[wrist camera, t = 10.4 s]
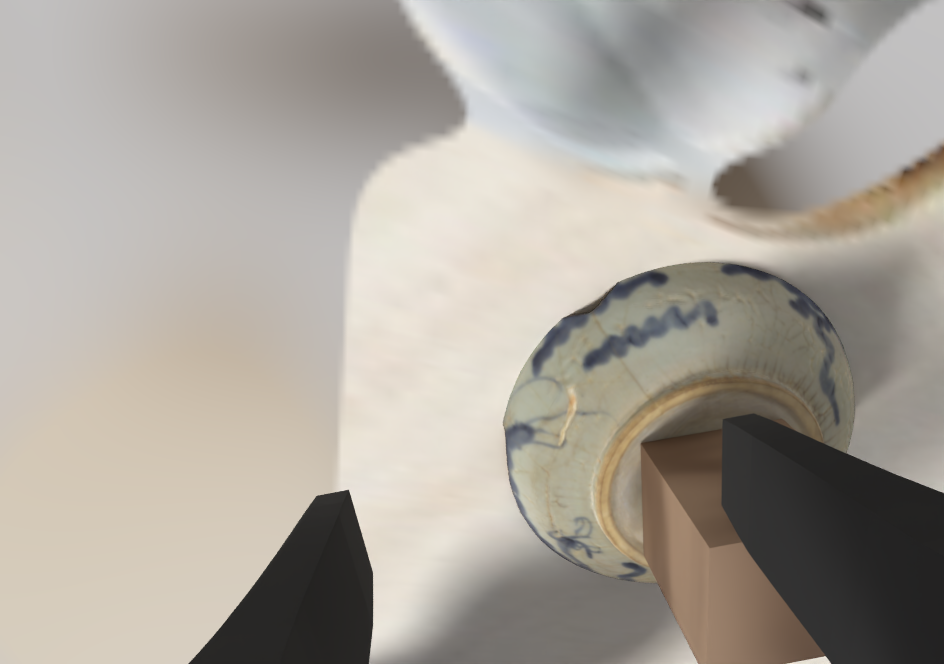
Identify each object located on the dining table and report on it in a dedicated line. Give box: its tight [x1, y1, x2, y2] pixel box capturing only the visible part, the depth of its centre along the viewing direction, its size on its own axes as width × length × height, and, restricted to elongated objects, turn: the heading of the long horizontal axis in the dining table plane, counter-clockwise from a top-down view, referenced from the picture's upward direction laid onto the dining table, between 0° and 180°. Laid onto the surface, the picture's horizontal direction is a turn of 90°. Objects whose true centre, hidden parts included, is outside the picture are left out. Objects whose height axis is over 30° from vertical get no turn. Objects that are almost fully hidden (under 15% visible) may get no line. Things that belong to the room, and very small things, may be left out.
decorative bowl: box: [503, 262, 855, 583], centre depth 23 cm, size 15×4×15 cm
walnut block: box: [640, 419, 825, 664], centre depth 19 cm, size 5×5×5 cm
